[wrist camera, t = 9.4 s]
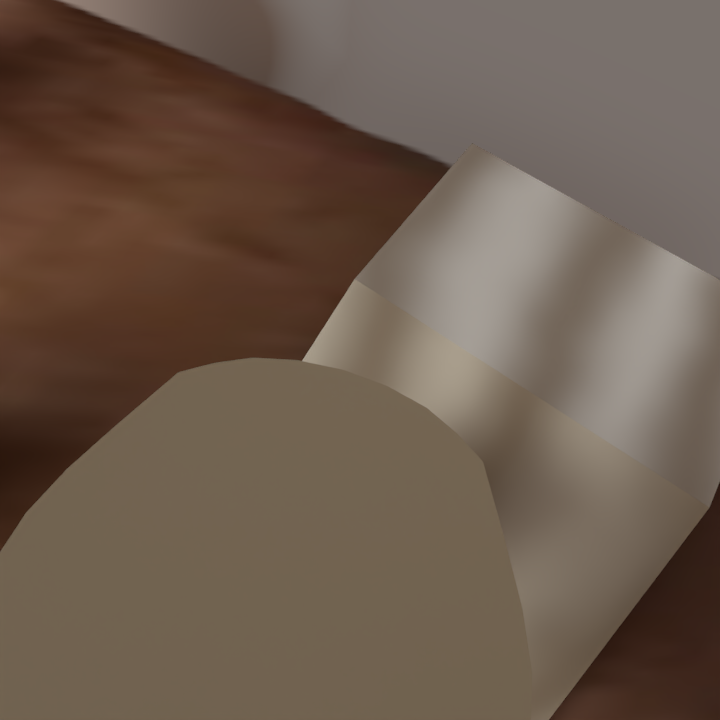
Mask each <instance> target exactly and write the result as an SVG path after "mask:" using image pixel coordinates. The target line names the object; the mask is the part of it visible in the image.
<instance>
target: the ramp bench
mask: <svg viewBox="0 0 720 720" xmlns="http://www.w3.org/2000/svg"><path fill="white" fill-rule="evenodd" d="M302 361H304V362H308V363H313V364H318V365H323V366H328V367H332V368H337V369H342V370H345V371H348V372H351V373H353V374H356V375H359V376H361V377H364V378H367V379H370V380H372V381H375V382H378V383H380V384H383V385H386V386H388V387H390V388H392V389H394V390H395V391H397V392H399V393H401V394H403V395H404V396H406V397H408V398H410V399H412V400H414V401H415V402H417V403H419V404H421V405H423V406H424V407H426V408H428V409H429V410H430V411H431V412H432V413H433V414H435V415H436V416H437V417H438V418H439V419H441V420H442V421H443V422H444V423H445V424H447V425H448V426H449V427H450V428H451V429H452V430H454V431H455V432H456V433H457V434H458V435H459V436H460V437H461V438H462V439H463V440H464V442H465V443H466V444H467V445H468V446H469V447H470V448H471V449H472V450H473V451H474V452H475V453H476V454H477V456H478V457H479V458H480V459H481V460H482V461H483V464H484V467H485V471H486V474H487V478H488V481H489V485H490V488H491V492H492V496H493V499H494V503H495V506H496V510H497V513H498V517H499V520H500V524H501V528H502V531H503V535H504V538H505V542H506V546H507V550H508V554H509V558H510V562H511V566H512V569H513V573H514V577H515V581H516V585H517V589H518V593H519V597H520V601H521V605H522V609H523V615H524V622H525V629H526V635H527V642H528V648H529V655H530V662H531V668H532V696H531V720H549V719H550V718H551V716H552V715H553V714H554V712H555V711H556V710H557V708H558V707H559V706H560V705H561V703H562V702H563V701H564V699H565V698H566V697H567V695H568V694H569V693H570V691H571V690H572V689H573V687H574V686H575V685H576V683H577V682H578V681H579V679H580V678H581V677H582V675H583V674H584V673H585V671H586V670H587V669H588V668H589V666H590V665H591V664H592V662H593V661H594V660H595V658H596V657H597V656H598V654H599V653H600V652H601V650H602V649H603V648H604V646H605V645H606V644H607V642H608V641H609V640H610V638H611V637H612V636H613V634H614V633H615V632H616V630H617V629H618V628H619V627H620V625H621V624H622V623H623V621H624V620H625V619H626V617H627V616H628V615H629V613H630V612H631V611H632V609H633V608H634V607H635V605H636V604H637V603H638V601H639V600H640V599H641V597H642V596H643V595H644V593H645V592H646V591H647V590H648V588H649V587H650V586H651V584H652V583H653V582H654V580H655V579H656V578H657V576H658V575H659V574H660V572H661V571H662V570H663V568H664V567H665V566H666V564H667V563H668V562H669V560H670V559H671V558H672V556H673V555H674V554H675V552H676V551H677V550H678V549H679V547H680V546H681V545H682V543H683V542H684V541H685V539H686V538H687V537H688V535H689V534H690V533H691V531H692V530H693V529H694V527H695V526H696V525H697V523H698V522H699V521H700V519H701V518H702V517H703V515H704V514H705V513H706V512H707V510H708V509H709V507H710V505H711V502H712V500H713V497H714V495H715V492H716V490H717V487H718V485H719V482H720V280H719V279H717V278H715V277H714V276H712V275H710V274H708V273H706V272H705V271H703V270H701V269H699V268H697V267H695V266H694V265H691V264H690V263H688V262H686V261H684V260H683V259H681V258H679V257H677V256H676V255H674V254H672V253H670V252H668V251H666V250H665V249H663V248H661V247H659V246H657V245H655V244H654V243H652V242H650V241H648V240H646V239H645V238H643V237H641V236H639V235H637V234H635V233H634V232H632V231H630V230H628V229H627V228H625V227H623V226H621V225H619V224H617V223H616V222H614V221H612V220H610V219H608V218H607V217H605V216H603V215H601V214H599V213H598V212H596V211H594V210H592V209H590V208H589V207H587V206H585V205H583V204H581V203H579V202H578V201H576V200H574V199H572V198H570V197H569V196H567V195H565V194H563V193H561V192H559V191H558V190H556V189H554V188H552V187H550V186H549V185H547V184H545V183H543V182H541V181H540V180H538V179H536V178H534V177H532V176H530V175H529V174H527V173H525V172H523V171H521V170H520V169H518V168H516V167H514V166H512V165H511V164H509V163H507V162H505V161H503V160H502V159H500V158H498V157H496V156H494V155H492V154H491V153H489V152H487V151H485V150H483V149H481V148H480V147H478V146H476V145H474V144H473V143H472V144H471V145H470V146H469V148H468V149H467V150H466V151H465V152H464V153H463V154H462V156H461V157H460V158H459V159H458V160H457V162H456V163H455V164H454V165H453V166H452V167H451V168H450V169H449V171H448V172H447V173H446V174H445V175H444V176H443V178H442V179H441V180H440V181H439V182H438V183H437V184H436V186H435V187H434V188H433V189H432V190H431V191H430V193H429V194H428V195H427V196H426V197H425V198H424V200H423V201H422V202H421V203H420V204H419V205H418V206H417V208H416V209H415V210H414V211H413V212H412V213H411V215H410V216H409V217H408V218H407V219H406V220H405V221H404V223H403V224H402V225H401V226H400V227H399V228H398V230H397V231H396V232H395V233H394V234H393V235H392V237H391V238H390V239H389V240H388V241H387V242H386V243H385V245H384V246H383V247H382V248H381V249H380V250H379V252H378V253H377V254H376V255H375V256H374V257H373V258H372V260H371V261H370V262H369V263H368V264H367V265H366V267H365V268H364V269H363V270H362V271H361V272H360V274H359V275H358V276H357V277H356V278H355V279H354V281H353V283H352V284H351V286H350V287H349V289H348V290H347V292H346V293H345V295H344V297H343V298H342V300H341V301H340V303H339V304H338V306H337V307H336V309H335V311H334V312H333V314H332V315H331V317H330V318H329V320H328V321H327V323H326V325H325V326H324V328H323V329H322V331H321V332H320V334H319V335H318V337H317V339H316V340H315V342H314V343H313V345H312V346H311V348H310V349H309V351H308V353H307V354H306V356H305V357H304V359H303V360H302Z"/></svg>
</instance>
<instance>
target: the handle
mask: <svg viewBox="0 0 720 720" xmlns="http://www.w3.org/2000/svg"><path fill="white" fill-rule="evenodd" d="M531 696H532V668H531V662H530V655H529V648H528V642H527V635H526V629H525V622H524V615H523V609H522V605H521V601H520V597H519V593H518V589H517V585H516V581H515V577H514V573H513V569H512V566H511V562H510V558H509V554H508V550H507V546H506V542H505V538H504V535H503V531H502V528H501V524H500V520H499V517H498V513H497V510H496V506H495V503H494V499H493V496H492V492H491V488H490V485H489V481H488V478H487V474H486V471H485V467H484V464H483V461H482V460H481V459H480V458H479V457H478V456H477V454H476V453H475V452H474V451H473V450H472V449H471V448H470V447H469V446H468V445H467V444H466V443H465V442H464V440H463V439H462V438H461V437H460V436H459V435H458V434H457V433H456V432H455V431H454V430H452V429H451V428H450V427H449V426H448V425H447V424H445V423H444V422H443V421H442V420H441V419H439V418H438V417H437V416H436V415H435V414H433V413H432V412H431V411H430V410H429V409H428V408H426V407H424V406H423V405H421V404H419V403H417V402H415V401H414V400H412V399H410V398H408V397H406V396H404V395H403V394H401V393H399V392H397V391H395V390H394V389H392V388H390V387H388V386H386V385H383V384H380V383H378V382H375V381H372V380H370V379H367V378H364V377H361V376H359V375H356V374H353V373H351V372H348V371H345V370H342V369H337V368H332V367H328V366H323V365H318V364H313V363H308V362H304V361H299V360H286V359H268V358H246V359H239V360H232V361H225V362H217V363H212V364H208V365H205V366H201V367H197V368H193V369H189V370H185V371H182V372H178V373H177V374H176V375H175V376H173V377H172V378H171V379H170V380H169V381H168V382H166V383H165V384H164V385H163V386H162V387H160V388H159V389H158V390H157V391H156V392H155V393H153V394H152V395H151V396H150V397H149V398H147V399H146V400H145V401H144V402H143V403H142V404H140V405H139V406H138V407H137V408H136V409H134V410H133V411H132V412H131V413H130V414H129V415H127V416H126V417H125V418H124V419H123V420H122V421H120V422H119V423H118V424H117V425H116V426H115V427H113V428H112V429H111V430H110V431H109V432H108V433H107V434H106V435H104V436H103V437H102V438H101V439H100V440H99V441H98V442H97V443H95V444H94V445H93V446H92V447H91V448H90V449H89V450H88V451H86V452H85V453H84V454H83V455H82V456H81V457H80V458H79V459H77V460H76V461H75V462H74V463H73V464H72V465H71V466H70V467H68V468H67V469H66V470H65V471H64V473H63V474H62V475H61V476H60V477H59V478H58V479H57V480H56V481H55V482H54V483H53V484H52V485H51V487H50V488H49V489H48V490H47V491H46V492H45V493H44V494H43V495H42V496H41V497H40V498H39V499H38V500H37V502H36V503H35V504H34V505H33V506H32V507H31V508H30V509H29V510H28V511H27V512H26V514H25V515H24V517H23V518H22V520H21V521H20V523H19V524H18V526H17V527H16V529H15V530H14V532H13V533H12V535H11V536H10V538H9V539H8V541H7V542H6V544H5V545H4V547H3V548H2V550H1V551H0V720H531Z"/></svg>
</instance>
